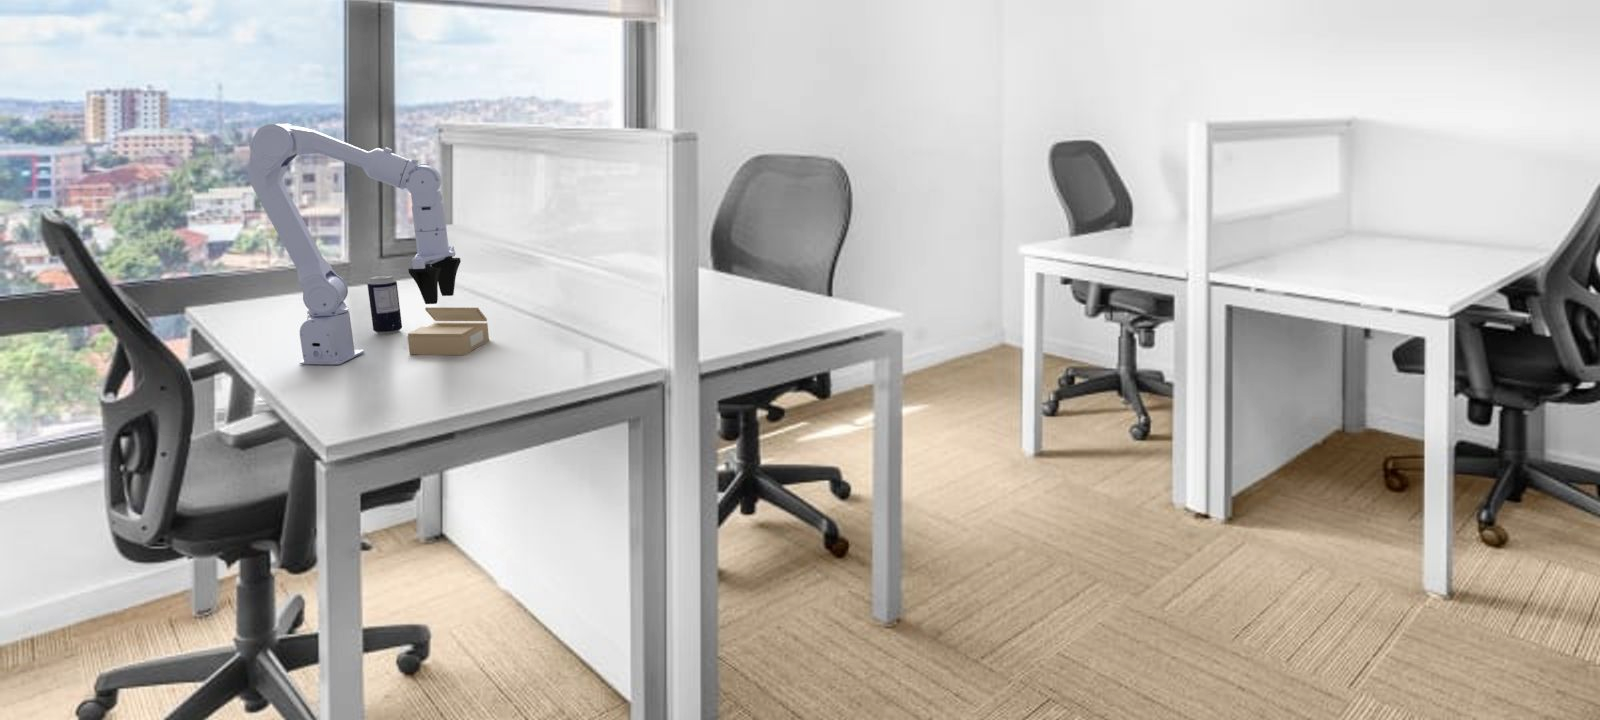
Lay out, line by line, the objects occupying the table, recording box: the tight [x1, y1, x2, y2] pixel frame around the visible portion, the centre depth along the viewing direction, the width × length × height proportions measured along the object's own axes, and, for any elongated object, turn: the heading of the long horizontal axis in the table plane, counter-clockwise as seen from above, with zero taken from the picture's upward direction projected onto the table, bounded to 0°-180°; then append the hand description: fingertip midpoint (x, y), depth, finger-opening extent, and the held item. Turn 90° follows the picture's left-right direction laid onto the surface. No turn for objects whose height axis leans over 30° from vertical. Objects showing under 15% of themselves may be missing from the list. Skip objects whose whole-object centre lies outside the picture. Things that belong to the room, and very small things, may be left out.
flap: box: [424, 307, 488, 322], centre depth 203 cm, size 5×11×1 cm
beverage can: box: [367, 274, 403, 336], centre depth 212 cm, size 6×6×12 cm
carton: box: [407, 322, 490, 356], centre depth 200 cm, size 12×11×4 cm
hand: (439, 299), depth 196 cm, fingers open, 7 cm apart
